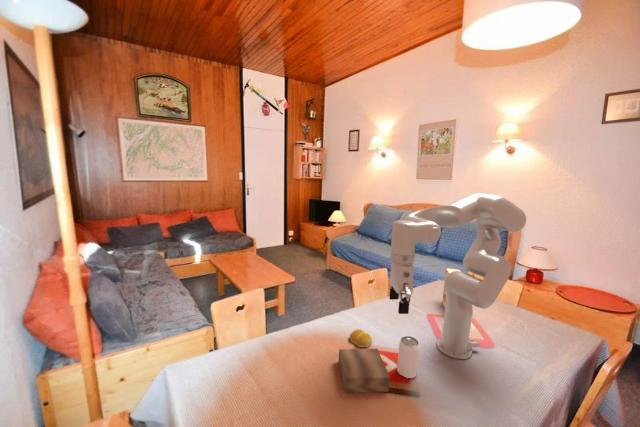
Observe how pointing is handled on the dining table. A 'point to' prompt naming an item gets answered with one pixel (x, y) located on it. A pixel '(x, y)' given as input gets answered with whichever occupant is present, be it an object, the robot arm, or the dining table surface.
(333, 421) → the dining table surface
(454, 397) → the dining table surface
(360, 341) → the bread roll
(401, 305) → the robot arm
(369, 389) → the block
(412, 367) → the can
